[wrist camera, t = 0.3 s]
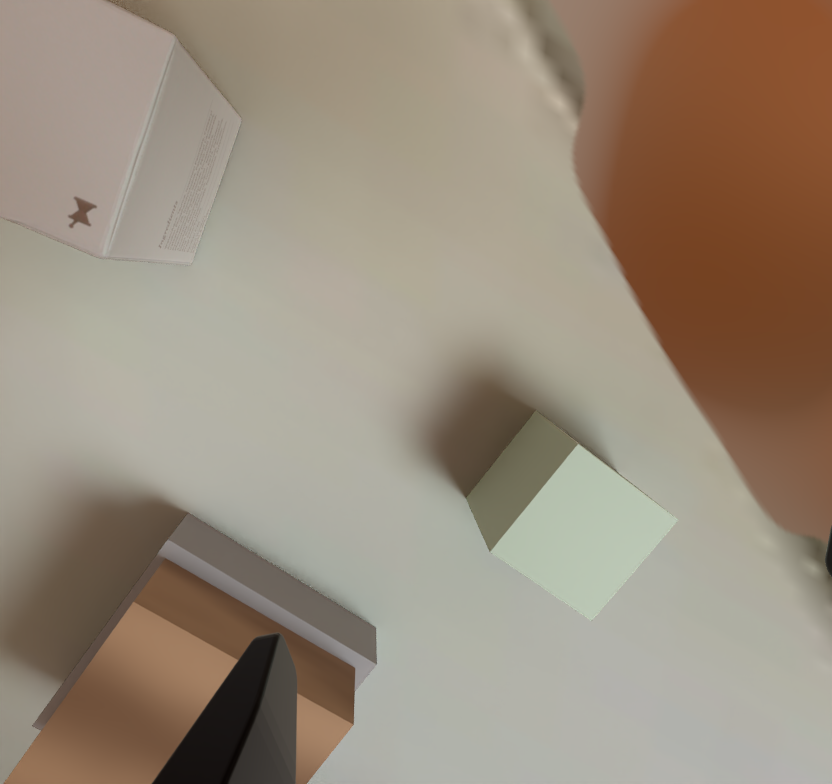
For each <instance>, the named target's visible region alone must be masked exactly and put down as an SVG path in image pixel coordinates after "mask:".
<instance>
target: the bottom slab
mask: <svg viewBox="0 0 832 784" xmlns="http://www.w3.org/2000/svg"><path fill="white" fill-rule="evenodd" d="M165 558H167V559H168V560H170V561H172V562H174V563H175V564H177V565H179V566H180V567H182V568H184V569H186V570H187V571H189V572H191V573H192V574H194V575H196V576H198V577H199V578H201V579H203V580H205V581H206V582H208V583H210V584H211V585H213V586H215V587H217V588H218V589H220V590H222V591H224V592H225V593H227V594H229V595H230V596H232V597H234V598H236V599H237V600H239V601H241V602H242V603H244V604H246V605H248V606H249V607H251V608H253V609H255V610H256V611H258V612H260V613H261V614H263V615H265V616H267V617H268V618H270V619H272V620H274V621H275V622H277V623H279V624H280V625H282V626H284V627H286V628H287V629H289V630H291V631H292V632H294V633H296V634H298V635H299V636H301V637H303V638H305V639H306V640H308V641H310V642H311V643H313V644H315V645H317V646H318V647H320V648H322V649H324V650H325V651H327V652H329V653H330V654H332V655H334V656H336V657H337V658H339V659H341V660H342V661H344V662H346V663H348V664H349V665H351V666H353V667H354V668H355V691H356V690H357V688H358V687H359V686H360V685H361V683H362V682H363V681H364V680H365V678H366V677H367V676H368V675H369V674H370V672H371V671H372V670H373V669H374V667H375V666H376V665H377V654H376V628H375V627H374V626H372V625H370V624H369V623H367V622H366V621H364V620H362V619H361V618H359V617H357V616H356V615H354V614H353V613H351V612H349V611H348V610H346V609H344V608H343V607H341V606H339V605H338V604H336V603H335V602H333V601H331V600H330V599H328V598H326V597H325V596H323V595H322V594H320V593H318V592H317V591H315V590H313V589H312V588H310V587H309V586H307V585H305V584H304V583H302V582H300V581H299V580H297V579H295V578H294V577H292V576H291V575H289V574H287V573H286V572H284V571H282V570H281V569H279V568H278V567H276V566H274V565H273V564H271V563H269V562H268V561H266V560H265V559H263V558H261V557H260V556H258V555H256V554H255V553H253V552H251V551H250V550H248V549H247V548H245V547H243V546H242V545H240V544H238V543H237V542H235V541H234V540H232V539H230V538H229V537H227V536H225V535H224V534H222V533H221V532H219V531H217V530H216V529H214V528H212V527H211V526H209V525H207V524H206V523H204V522H203V521H201V520H199V519H198V518H196V517H194V516H193V515H191V514H190V513H188V514H187V515H186V516H185V518H184V519H183V520H182V521H181V523H180V524H179V525H178V527H177V528H176V529H175V531H174V532H173V533H172V535H171V536H170V537H169V538H168V540H167V541H166V542H165V544H164V545H163V547H162V548H161V549H160V551H159V552H158V553H157V555H156V556H155V558H154V559H153V560H152V562H151V563H150V564H149V566H148V567H147V569H146V570H145V571H144V573H143V574H142V575H141V577H140V578H139V580H138V581H137V582H136V584H135V585H134V586H133V588H132V589H131V591H130V592H129V593H128V595H127V596H126V598H125V599H124V600H123V602H122V603H121V604H120V606H119V607H118V609H117V610H116V611H115V613H114V614H113V615H112V617H111V618H110V620H109V621H108V622H107V624H106V625H105V626H104V628H103V629H102V631H101V632H100V633H99V635H98V636H97V637H96V639H95V640H94V642H93V643H92V644H91V646H90V647H89V648H88V650H87V651H86V653H85V654H84V655H83V657H82V658H81V659H80V661H79V662H78V664H77V665H76V666H75V668H74V669H73V670H72V672H71V673H70V675H69V676H68V677H67V679H66V680H65V681H64V683H63V684H62V686H61V687H60V688H59V690H58V691H57V692H56V694H55V695H54V697H53V698H52V699H51V701H50V702H49V703H48V705H47V706H46V708H45V709H44V710H43V712H42V713H41V714H40V716H39V717H38V719H37V720H36V721H35V723H34V724H33V725H32V726H33V727H35V728H37V729H39V730H41V731H42V729H43V728H44V726H45V725H46V724H47V722H48V721H49V719H50V718H51V717H52V715H53V714H54V712H55V711H56V710H57V708H58V707H59V705H60V704H61V703H62V701H63V700H64V698H65V697H66V696H67V694H68V693H69V691H70V690H71V689H72V687H73V686H74V684H75V683H76V682H77V680H78V679H79V677H80V676H81V675H82V673H83V672H84V670H85V669H86V668H87V666H88V665H89V663H90V662H91V661H92V659H93V658H94V656H95V655H96V654H97V652H98V651H99V649H100V648H101V647H102V645H103V644H104V642H105V641H106V640H107V638H108V637H109V635H110V634H111V633H112V631H113V630H114V628H115V627H116V626H117V624H118V623H119V621H120V620H121V618H122V617H123V616H124V614H125V613H126V611H127V610H128V609H129V607H130V606H131V604H132V603H133V602H134V600H135V599H136V598H137V596H138V595H139V594H140V592H141V591H142V589H143V588H144V587H145V585H146V584H147V583H148V581H149V580H150V579H151V577H152V576H153V574H154V573H155V572H156V570H157V569H158V568H159V566H160V565H161V564H162V562H163V561H164V559H165Z"/></svg>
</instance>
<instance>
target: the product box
mask: <svg viewBox="0 0 832 784" xmlns="http://www.w3.org/2000/svg"><path fill="white" fill-rule="evenodd" d="M241 121H242V119H241V117H240V116H239V115H238V113H237V112H236V111H235V110H234V108H233V107H232V106H231V105H230V103H229V102H228V101H227V100H226V99H225V97H224V96H223V95H222V94H221V92H220V91H219V90H218V89H217V87H216V86H215V85H214V84H213V83H212V81H211V80H210V79H209V78H208V77H207V75H206V74H205V73H204V71H203V70H202V69H201V68H200V66H199V65H198V64H197V63H196V62H195V60H194V59H193V58H192V57H191V55H190V54H189V53H188V52H187V50H186V49H185V48H184V47H183V45H182V44H181V43H180V41H179V40H178V38H177V37H176V36H175V35H174V34H173V33H172V32H170V31H168V30H166V29H164V28H161V27H160V26H158V25H156V24H154V23H152V22H150V21H148V20H146V19H144V18H142V17H140V16H138V15H136V14H134V13H132V12H130V11H128V10H126V9H124V8H122V7H120V6H118V5H116V4H114V3H112V2H110V1H108V0H0V217H1V218H3V219H6V220H9V221H11V222H14V223H16V224H19V225H21V226H23V227H26V228H28V229H30V230H33V231H35V232H37V233H40V234H42V235H45V236H47V237H49V238H52V239H54V240H57V241H59V242H61V243H64V244H66V245H68V246H71V247H73V248H76V249H78V250H80V251H83V252H85V253H88V254H90V255H92V256H95V257H97V258H100V259H112V260H123V261H135V262H148V263H161V264H173V265H185V266H188V265H190V264H192V261H193V259H194V257H195V254H196V250H197V248H198V245H199V242H200V239H201V236H202V234H203V231H204V228H205V225H206V222H207V219H208V217H209V214H210V211H211V208H212V205H213V203H214V200H215V197H216V194H217V191H218V188H219V186H220V183H221V180H222V177H223V174H224V171H225V168H226V165H227V163H228V160H229V157H230V154H231V151H232V148H233V145H234V142H235V139H236V136H237V134H238V131H239V128H240V125H241Z"/></svg>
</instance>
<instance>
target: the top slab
mask: <svg viewBox="0 0 832 784" xmlns="http://www.w3.org/2000/svg"><path fill="white" fill-rule="evenodd" d="M276 632H277V633H281V634H282V635H283V637H284V639H285V641H286V644H287V647H288V649H289V652H290V654H291V657H292V660H293V662H294V665H295V668H296V673H297V739H296V784H307V782H308V781H309V780H310V779H311V777H312V776H313V775H314V774H315V772H316V771H317V770H318V769H319V767H320V766H321V765H322V764H323V762H324V761H325V760H326V759H327V757H328V756H329V755H330V754H331V752H332V751H333V750H334V749H335V747H336V746H337V745H338V744H339V742H340V741H341V740H342V739H343V737H344V736H345V735H346V734H347V732H348V731H349V730H350V728H351V727H352V726H353V725H354V695H355V668H354V667H353V666H351V665H349V664H348V663H346V662H344V661H342V660H341V659H339V658H337V657H336V656H334V655H332V654H330V653H329V652H327V651H325V650H324V649H322V648H320V647H318V646H317V645H315V644H313V643H311V642H310V641H308V640H306V639H305V638H303V637H301V636H299V635H298V634H296V633H294V632H292V631H291V630H289V629H287V628H286V627H284V626H282V625H280V624H279V623H277V622H275V621H274V620H272V619H270V618H268V617H267V616H265V615H263V614H261V613H260V612H258V611H256V610H255V609H253V608H251V607H249V606H248V605H246V604H244V603H242V602H241V601H239V600H237V599H236V598H234V597H232V596H230V595H229V594H227V593H225V592H224V591H222V590H220V589H218V588H217V587H215V586H213V585H211V584H210V583H208V582H206V581H205V580H203V579H201V578H199V577H198V576H196V575H194V574H192V573H191V572H189V571H187V570H186V569H184V568H182V567H180V566H179V565H177V564H175V563H174V562H172V561H170V560H168V559H167V558H165V559H164V561H163V562H162V564H161V565H160V566H159V568H158V569H157V570H156V572H155V573H154V574H153V576H152V577H151V579H150V580H149V581H148V583H147V584H146V585H145V587H144V588H143V589H142V591H141V592H140V594H139V595H138V596H137V598H136V599H135V600H134V602H133V603H132V604H131V606H130V607H129V609H128V610H127V611H126V613H125V614H124V616H123V617H122V618H121V620H120V621H119V623H118V624H117V626H116V627H115V628H114V630H113V631H112V633H111V634H110V635H109V637H108V638H107V640H106V641H105V642H104V644H103V645H102V647H101V648H100V649H99V651H98V652H97V654H96V655H95V656H94V658H93V659H92V661H91V662H90V663H89V665H88V666H87V668H86V669H85V670H84V672H83V673H82V675H81V676H80V677H79V679H78V680H77V682H76V683H75V684H74V686H73V687H72V689H71V690H70V691H69V693H68V694H67V696H66V697H65V698H64V700H63V701H62V703H61V704H60V705H59V707H58V708H57V710H56V711H55V712H54V714H53V715H52V717H51V718H50V719H49V721H48V722H47V724H46V725H45V726H44V728H43V729H42V731H41V732H40V733H39V735H38V736H37V738H36V739H35V740H34V742H33V743H32V745H31V746H30V747H29V749H28V750H27V752H26V753H25V754H24V756H23V757H22V759H21V760H20V761H19V763H18V764H17V766H16V767H15V768H14V770H13V771H12V773H11V774H10V775H9V777H8V778H7V780H6V781H5V782H4V784H152V782H153V781H154V779H155V778H156V777H157V775H158V774H159V772H160V771H161V769H162V768H163V767H164V765H165V764H166V762H167V761H168V759H169V758H170V757H171V755H172V754H173V752H174V751H175V750H176V748H177V747H178V745H179V744H180V742H181V741H182V740H183V738H184V737H185V735H186V734H187V732H188V731H189V730H190V728H191V727H192V725H193V724H194V722H195V721H196V720H197V718H198V717H199V715H200V714H201V713H202V711H203V710H204V708H205V707H206V705H207V704H208V703H209V701H210V700H211V698H212V697H213V695H214V694H215V693H216V691H217V690H218V688H219V687H220V685H221V684H222V683H223V681H224V680H225V678H226V677H227V676H228V674H229V673H230V671H231V670H232V668H233V667H234V666H235V664H236V663H237V661H238V660H239V658H240V657H241V656H242V654H243V653H244V651H245V650H246V648H247V647H248V646H249V644H250V643H251V641H252V640H253V639H254V638H255V637H257V636H261V635H266V634H271V633H276Z"/></svg>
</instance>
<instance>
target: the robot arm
mask: <svg viewBox="0 0 832 784" xmlns="http://www.w3.org/2000/svg"><path fill="white" fill-rule="evenodd" d="M825 563H826V567H827V570H828V572H829V574H830V575H831V577H832V527H831V530H830V536H829V541H828V546H827V551H826V556H825ZM296 739H297V673H296V668H295V665H294V662H293V660H292V657H291V654H290V652H289V649H288V647H287V644H286V641H285V639H284V637H283V635H282V634H281V633H277V632H276V633H271V634H266V635H261V636H257V637H255V638H254V639H253V640H252V641H251V643H250V644H249V646H248V647H247V648H246V650H245V651H244V653H243V654H242V656H241V657H240V658H239V660H238V661H237V663H236V664H235V666H234V667H233V668H232V670H231V671H230V673H229V674H228V676H227V677H226V678H225V680H224V681H223V683H222V684H221V685H220V687H219V688H218V690H217V691H216V693H215V694H214V695H213V697H212V698H211V700H210V701H209V703H208V704H207V705H206V707H205V708H204V710H203V711H202V713H201V714H200V715H199V717H198V718H197V720H196V721H195V722H194V724H193V725H192V727H191V728H190V730H189V731H188V732H187V734H186V735H185V737H184V738H183V740H182V741H181V742H180V744H179V745H178V747H177V748H176V750H175V751H174V752H173V754H172V755H171V757H170V758H169V759H168V761H167V762H166V764H165V765H164V767H163V768H162V769H161V771H160V772H159V774H158V775H157V777H156V778H155V779H154V781H153V782H152V784H296Z"/></svg>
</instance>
